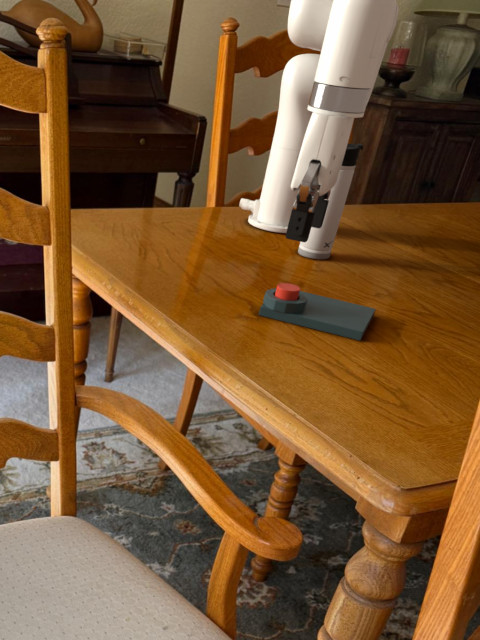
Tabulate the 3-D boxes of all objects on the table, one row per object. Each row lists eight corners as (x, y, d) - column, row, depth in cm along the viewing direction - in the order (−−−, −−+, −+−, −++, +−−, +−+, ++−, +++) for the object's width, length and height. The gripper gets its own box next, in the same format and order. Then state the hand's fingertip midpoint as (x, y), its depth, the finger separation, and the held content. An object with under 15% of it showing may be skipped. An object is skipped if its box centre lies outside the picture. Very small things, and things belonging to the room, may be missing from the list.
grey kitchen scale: (256, 315, 114) (261, 296, 113) (276, 293, 123) (281, 276, 121) (359, 341, 109) (366, 322, 107) (373, 317, 118) (379, 299, 116)
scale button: (271, 298, 113) (274, 287, 112) (277, 292, 116) (280, 281, 115) (294, 303, 112) (297, 292, 111) (299, 297, 115) (302, 286, 114)
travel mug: (332, 262, 141) (365, 147, 128) (298, 257, 141) (328, 143, 129) (329, 253, 146) (361, 142, 133) (296, 248, 146) (325, 137, 134)
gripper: (323, 92, 105) (292, 216, 116) (295, 101, 93) (263, 240, 103) (376, 99, 103) (339, 226, 113) (354, 110, 90) (316, 251, 101)
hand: (303, 232), depth 108 cm, fingers open, 9 cm apart
